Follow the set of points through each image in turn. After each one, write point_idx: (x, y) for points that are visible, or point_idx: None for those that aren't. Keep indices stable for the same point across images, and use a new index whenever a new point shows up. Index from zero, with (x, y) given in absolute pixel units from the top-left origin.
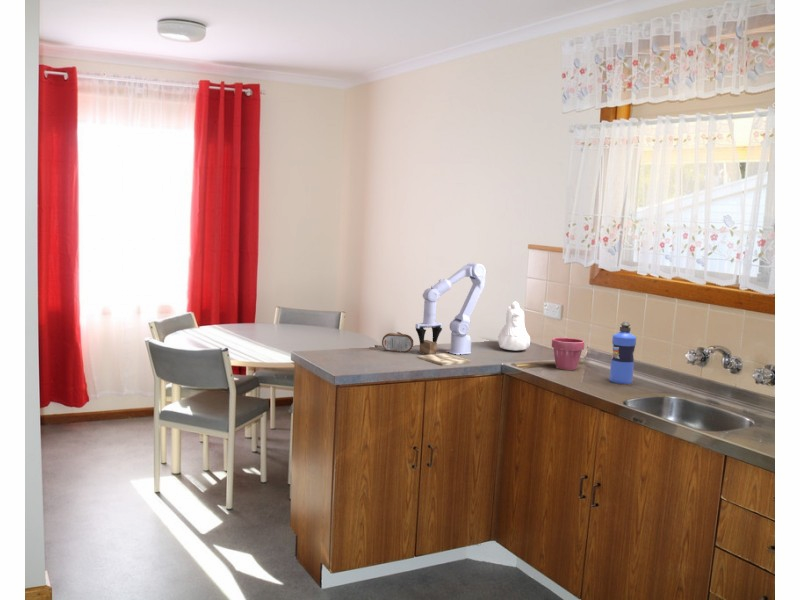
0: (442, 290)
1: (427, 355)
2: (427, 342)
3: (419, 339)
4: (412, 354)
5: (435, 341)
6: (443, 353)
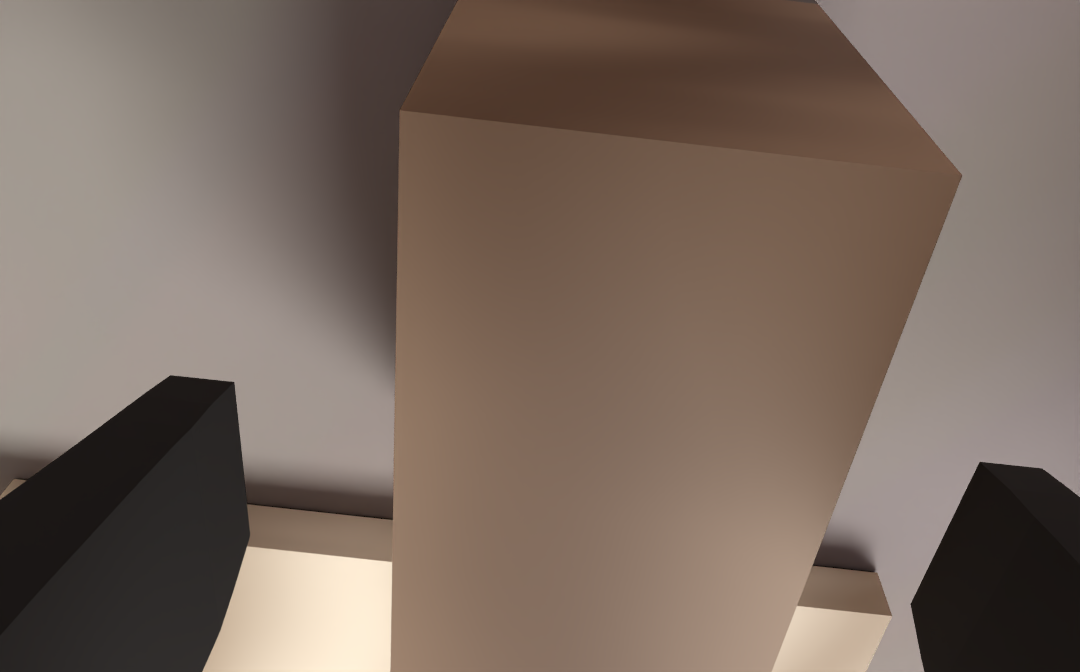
0: None
1: (237, 593)
2: (411, 637)
3: (49, 486)
4: (63, 79)
5: (927, 654)
6: (807, 614)
